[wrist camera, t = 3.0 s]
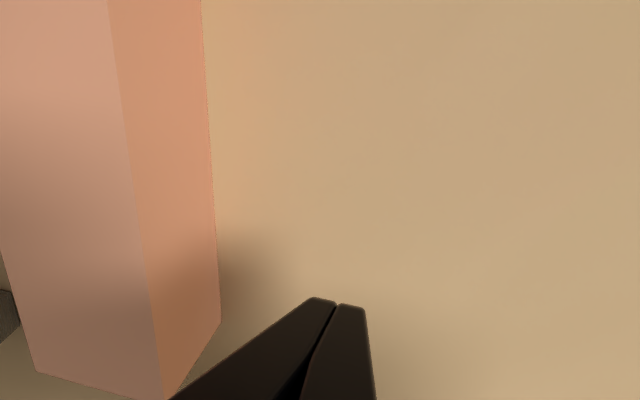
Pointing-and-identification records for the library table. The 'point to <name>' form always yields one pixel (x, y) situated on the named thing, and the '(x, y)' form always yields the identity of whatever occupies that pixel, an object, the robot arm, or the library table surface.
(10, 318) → the fence
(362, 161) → the library table surface
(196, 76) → the t block
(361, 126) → the library table surface
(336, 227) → the library table surface
